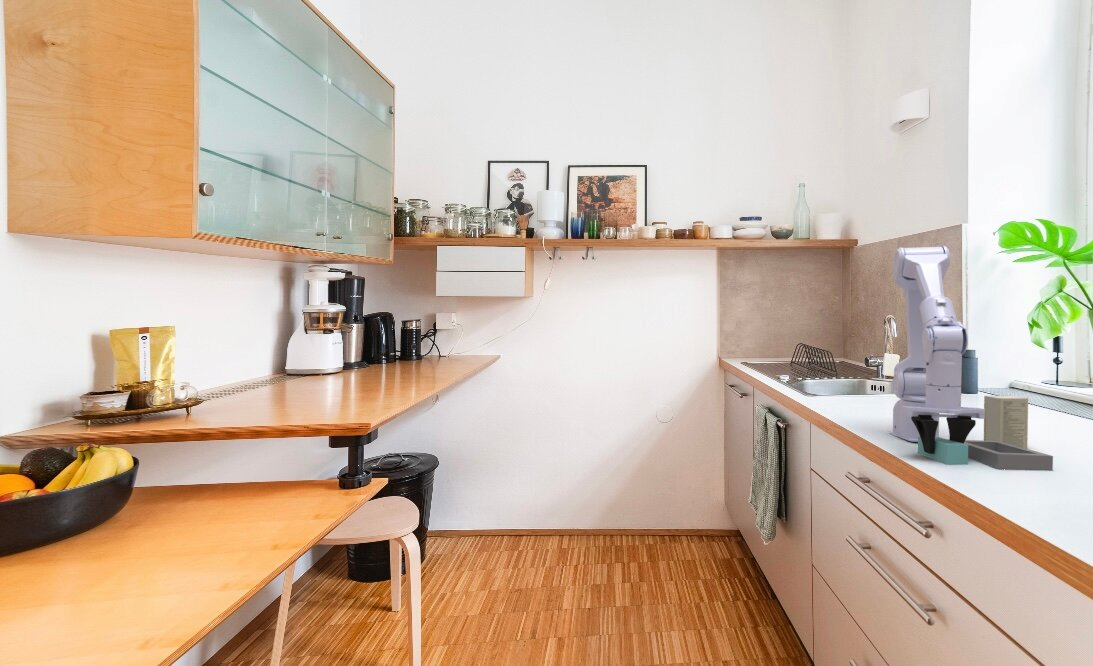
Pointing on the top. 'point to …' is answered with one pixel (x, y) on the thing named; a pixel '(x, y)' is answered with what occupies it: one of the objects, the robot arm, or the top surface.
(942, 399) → the robot arm
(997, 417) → the skincare box
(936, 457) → the peg
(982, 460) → the socket block
